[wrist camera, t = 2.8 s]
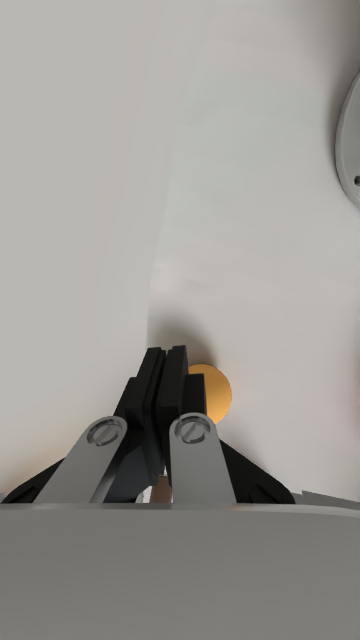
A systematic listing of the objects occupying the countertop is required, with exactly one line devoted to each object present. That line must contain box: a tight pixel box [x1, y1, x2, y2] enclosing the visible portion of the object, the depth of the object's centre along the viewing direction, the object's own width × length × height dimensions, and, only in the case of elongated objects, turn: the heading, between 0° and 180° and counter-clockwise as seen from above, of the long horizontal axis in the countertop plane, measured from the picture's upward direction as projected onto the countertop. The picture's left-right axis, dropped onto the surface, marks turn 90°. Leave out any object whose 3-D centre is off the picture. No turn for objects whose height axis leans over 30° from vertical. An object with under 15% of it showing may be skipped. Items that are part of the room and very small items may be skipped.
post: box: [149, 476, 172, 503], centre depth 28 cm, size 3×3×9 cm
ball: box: [188, 364, 232, 424], centre depth 23 cm, size 6×6×6 cm
